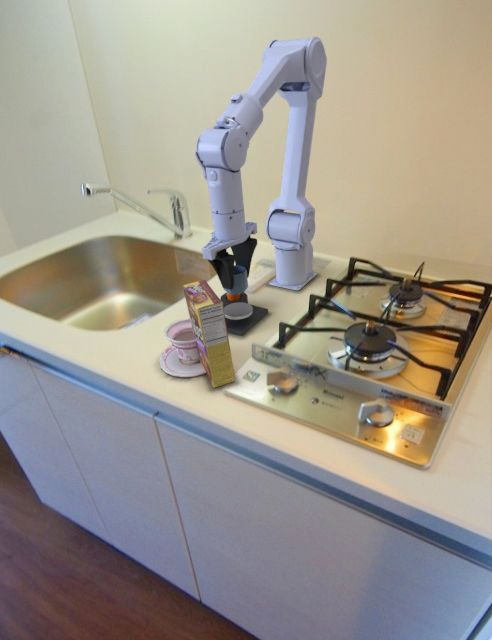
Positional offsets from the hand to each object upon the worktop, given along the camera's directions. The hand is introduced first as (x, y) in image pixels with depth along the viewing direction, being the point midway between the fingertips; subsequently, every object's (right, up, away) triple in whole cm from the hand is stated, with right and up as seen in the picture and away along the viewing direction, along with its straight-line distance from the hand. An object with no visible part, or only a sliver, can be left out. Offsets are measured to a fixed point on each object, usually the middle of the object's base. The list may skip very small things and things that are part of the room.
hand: (236, 282), depth 83 cm
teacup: (-8, -15, -4) cm, 18 cm away
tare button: (-1, -1, +7) cm, 8 cm away
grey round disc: (0, -5, +2) cm, 6 cm away
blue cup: (0, -1, +1) cm, 2 cm away
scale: (0, -6, +6) cm, 9 cm away
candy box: (-3, -18, -8) cm, 20 cm away
